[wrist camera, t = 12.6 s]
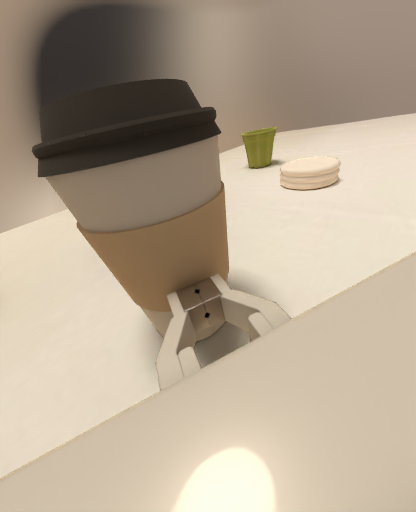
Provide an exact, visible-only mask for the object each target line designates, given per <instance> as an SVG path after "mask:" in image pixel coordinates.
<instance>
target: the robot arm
mask: <svg viewBox="0 0 416 512" xmlns="http://www.w3.org/2000/svg"><path fill="white" fill-rule="evenodd" d="M167 299H168V302H169V305H170V307H171V310H172V313H173V316H174V317H173V318H171V321H170V323H169V326H168V329H167V332H166V334H165V337H164V340H163V343H162V345H161V348H160V351H159V354H158V356H157V359H156V362H155V364H156V369H157V374H158V380H159V385H160V391H159V392H158V393H156V394H154V395H152V396H150V397H148V398H147V399H145V400H143V401H141V402H139V403H137V404H136V405H134V406H132V407H130V408H128V409H126V410H125V411H123V412H121V413H119V414H117V415H115V416H114V417H112V418H110V419H108V420H106V421H104V422H103V423H101V424H99V425H97V426H95V427H93V428H92V429H90V430H88V431H86V432H84V433H82V434H81V435H79V436H77V437H75V438H73V439H71V440H70V441H68V442H66V443H64V444H62V445H60V446H59V447H57V448H55V449H53V450H51V451H49V452H48V453H46V454H44V455H42V456H40V457H38V458H37V459H35V460H33V461H31V462H29V463H27V464H26V465H24V466H22V467H20V468H18V469H16V470H15V471H13V472H11V473H9V474H7V475H5V476H4V477H2V478H0V512H416V252H414V253H412V254H410V255H408V256H407V257H405V258H403V259H401V260H399V261H397V262H396V263H394V264H392V265H390V266H388V267H386V268H385V269H383V270H381V271H379V272H377V273H375V274H374V275H372V276H370V277H368V278H366V279H364V280H363V281H361V282H359V283H357V284H355V285H353V286H352V287H350V288H348V289H346V290H344V291H342V292H341V293H339V294H337V295H335V296H333V297H331V298H330V299H328V300H326V301H324V302H322V303H320V304H319V305H317V306H315V307H313V308H311V309H310V310H308V311H306V312H304V313H302V314H300V315H299V316H297V317H295V318H293V319H292V318H291V317H290V316H289V315H288V314H287V313H286V312H285V311H284V310H283V309H282V308H281V307H279V306H278V305H277V304H276V303H275V302H273V301H270V300H267V299H264V298H260V297H257V296H254V295H251V294H248V293H244V292H241V291H238V290H235V289H234V290H231V289H230V287H229V286H228V285H227V284H226V283H225V281H224V280H223V279H222V278H221V276H220V275H219V274H215V275H213V276H210V277H209V278H206V279H204V280H202V281H200V282H197V283H195V284H193V285H190V286H188V287H185V288H183V289H180V290H178V291H176V292H173V293H171V294H169V295H167ZM223 320H226V321H228V322H229V323H231V324H233V325H235V326H237V327H239V328H240V329H242V330H244V331H246V332H248V333H250V342H249V343H247V344H246V345H244V346H242V347H240V348H238V349H236V350H235V351H233V352H231V353H229V354H227V355H225V356H224V357H222V358H220V359H218V360H216V361H214V362H213V363H211V364H209V365H207V366H205V367H203V368H202V369H201V366H200V364H199V361H198V359H197V357H196V354H195V352H194V348H195V341H196V334H197V333H199V332H201V331H203V330H204V329H206V328H208V327H210V326H212V325H214V324H217V323H219V322H221V321H223Z"/></svg>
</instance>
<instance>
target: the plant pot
mask: <svg viewBox="0 0 416 512" xmlns="http://www.w3.org/2000/svg"><path fill="white" fill-rule="evenodd" d="M276 129H277V127H272V128H265V129H260V130H254V131H250V132H247V133H243V134H241V136H242V137H243V142H244V143H245V148H246V153H247V158H248V164H249V167H250V168H252V167H254V168H259V167H265V166H267V165H270V164H271V158H272V150H273V142H274V136H275V133H276Z"/></svg>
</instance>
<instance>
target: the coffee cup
mask: <svg viewBox="0 0 416 512" xmlns="http://www.w3.org/2000/svg"><path fill="white" fill-rule="evenodd" d="M39 115H40V127H41V140H42V143H40V144H38V145H35V146H33V148H32V152H33V154H34V156H35V157H36V158H38V159H39V160H38V177H46V179H47V180H48V181H49V183H50V184H51V186H52V187H53V188H54V190H55V191H56V192H57V194H58V195H59V196H60V198H61V199H62V200H63V202H64V203H65V205H66V206H67V207H68V209H69V210H70V211H71V213H72V214H73V216H74V217H75V218H76V220H77V228H78V229H79V230H80V232H81V233H82V234H83V236H84V237H85V238H86V240H87V241H88V242H89V244H90V245H91V246H92V247H93V249H94V250H95V251H96V253H97V254H98V255H99V257H100V258H101V259H102V260H103V262H104V263H105V264H106V266H107V267H108V268H109V270H110V271H111V272H112V273H113V275H114V276H115V277H116V279H117V280H118V281H119V283H120V284H121V285H122V286H123V288H124V289H125V290H126V292H127V293H128V294H129V296H130V297H131V298H132V299H133V301H134V302H135V303H136V304H137V305H139V306H140V307H141V308H142V310H143V311H144V312H145V314H146V315H147V317H148V318H149V319H150V321H151V322H152V323H153V325H154V326H155V327H156V329H157V330H158V332H159V333H160V334H161V335H162V336H163V337H165V334H166V332H167V329H168V326H169V323H170V321H171V318H173V317H174V316H173V313H172V310H171V307H170V305H169V302H168V299H167V295H169V294H171V293H173V292H176V291H178V290H180V289H183V288H185V287H188V286H190V285H193V284H195V283H197V282H200V281H202V280H204V279H206V278H209V277H210V276H213V275H215V274H219V275H220V276H221V278H222V279H223V280H224V281H225V283H226V284H227V285H228V272H229V259H228V242H227V225H226V209H225V192H224V183H223V182H222V181H221V176H220V163H219V149H218V136H217V135H218V134H220V133H221V131H220V129H219V128H218V126H217V125H216V123H215V121H214V120H215V118H216V110H215V109H214V108H213V107H204V108H201V106H200V104H199V103H198V101H197V99H196V97H195V96H194V94H193V92H192V90H191V89H190V87H189V85H188V84H187V82H185V81H183V80H177V79H154V80H143V81H134V82H128V83H121V84H116V85H111V86H105V87H100V88H96V89H92V90H88V91H84V92H81V93H77V94H73V95H70V96H67V97H64V98H61V99H58V100H56V101H54V102H51V103H49V104H48V105H46V106H44V107H43V108H41V109H40V111H39ZM225 321H226V320H223V321H221V322H219V323H217V324H214V325H212V326H210V327H208V328H206V329H204V330H203V331H201V332H199V333H197V334H196V341H195V342H197V341H200V340H203V339H205V338H207V337H209V336H211V335H212V334H214V333H215V332H216V331H217V330H218V329H219V328H220V327H221V326H222V325H223V324H224V322H225Z"/></svg>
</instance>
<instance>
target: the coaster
mask: <svg viewBox="0 0 416 512" xmlns="http://www.w3.org/2000/svg"><path fill="white" fill-rule="evenodd" d="M340 164H341V162H340V160H339V159H337V158H334V157H308V158H302V159H297V160H293V161H290V162H287V163H285V164H283V165H282V166H281V168H280V171H281V174H280V178H281V179H280V184H281V185H282V186H284V187H286V188H289V189H298V190H306V189H317V188H322V187H326V186H329V185H331V184H333V183H334V182H336V181H337V179H338V173H339V167H340Z"/></svg>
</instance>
